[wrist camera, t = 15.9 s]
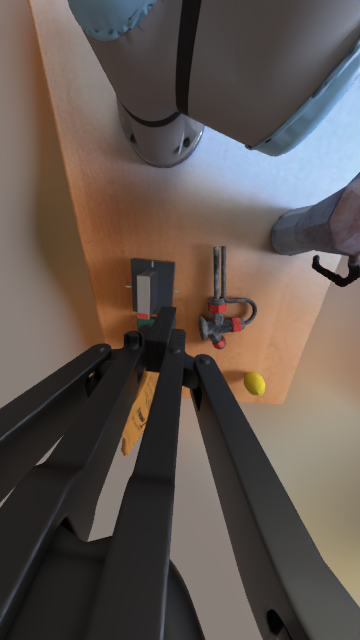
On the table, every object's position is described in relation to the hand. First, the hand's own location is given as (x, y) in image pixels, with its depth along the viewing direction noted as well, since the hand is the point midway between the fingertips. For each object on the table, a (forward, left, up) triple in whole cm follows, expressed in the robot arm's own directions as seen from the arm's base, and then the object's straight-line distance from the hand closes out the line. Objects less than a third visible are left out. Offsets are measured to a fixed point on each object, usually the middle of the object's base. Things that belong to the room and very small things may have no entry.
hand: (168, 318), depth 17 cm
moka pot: (-11, +23, -27) cm, 37 cm away
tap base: (+4, -7, -26) cm, 28 cm away
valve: (+5, +12, -27) cm, 30 cm away
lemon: (+28, +24, -27) cm, 45 cm away
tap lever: (+4, -7, -24) cm, 25 cm away
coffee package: (+32, -9, -27) cm, 43 cm away
